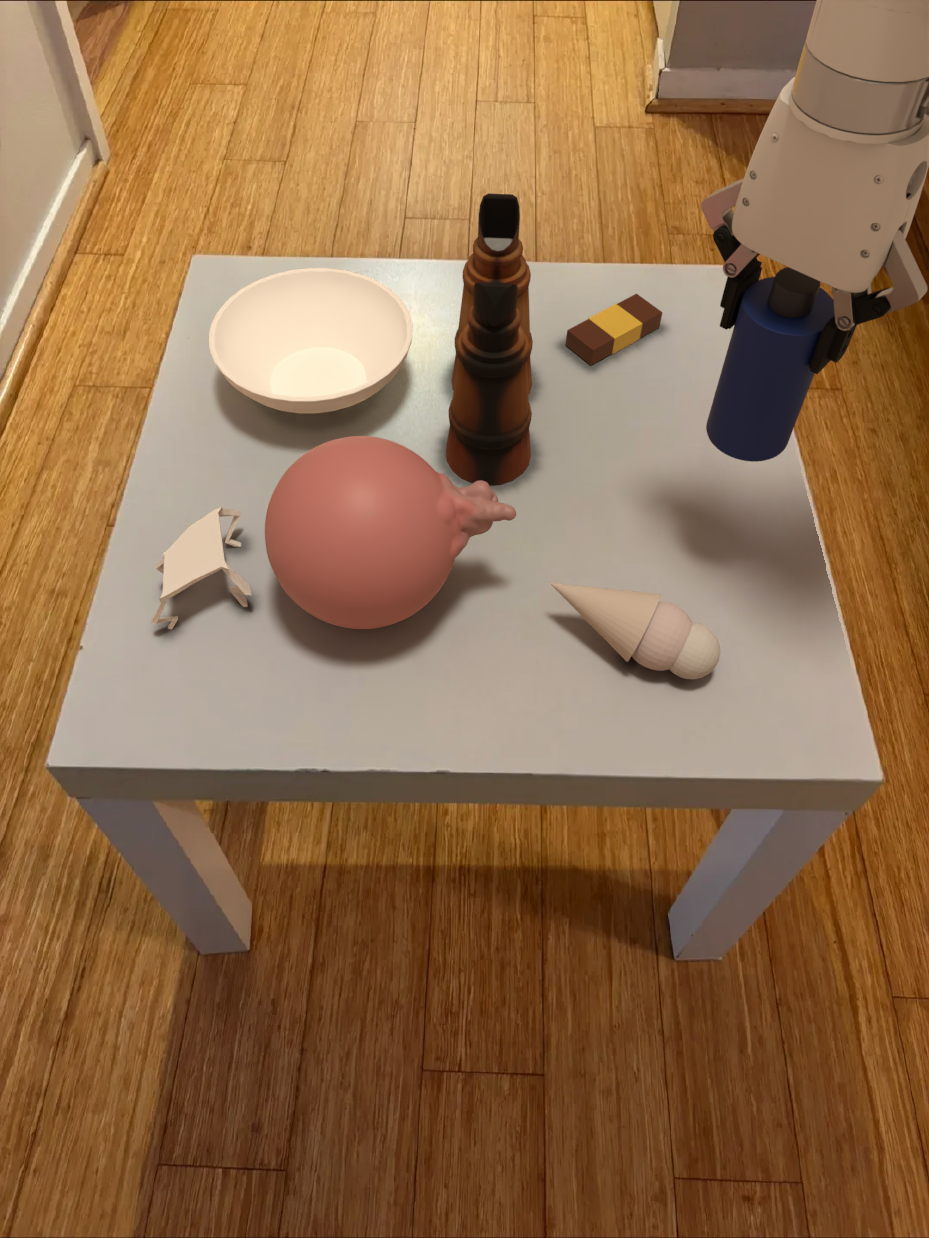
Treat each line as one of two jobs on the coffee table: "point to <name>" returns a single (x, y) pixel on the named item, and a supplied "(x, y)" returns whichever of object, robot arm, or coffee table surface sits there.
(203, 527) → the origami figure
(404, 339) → the bowl
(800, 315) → the water bottle
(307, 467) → the balloon
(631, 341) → the chocolate bar
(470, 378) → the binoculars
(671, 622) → the ice cream cone
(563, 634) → the coffee table surface
